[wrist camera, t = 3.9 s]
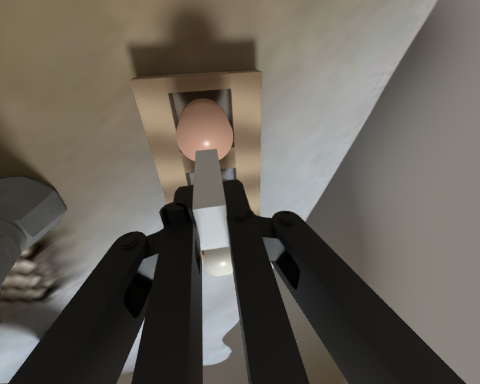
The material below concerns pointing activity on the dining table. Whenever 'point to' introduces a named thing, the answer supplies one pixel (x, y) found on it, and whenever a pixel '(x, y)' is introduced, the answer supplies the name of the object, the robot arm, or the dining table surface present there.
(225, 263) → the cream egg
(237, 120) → the wooden egg rack
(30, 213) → the coffeepot
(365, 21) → the dining table surface
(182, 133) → the pink egg
